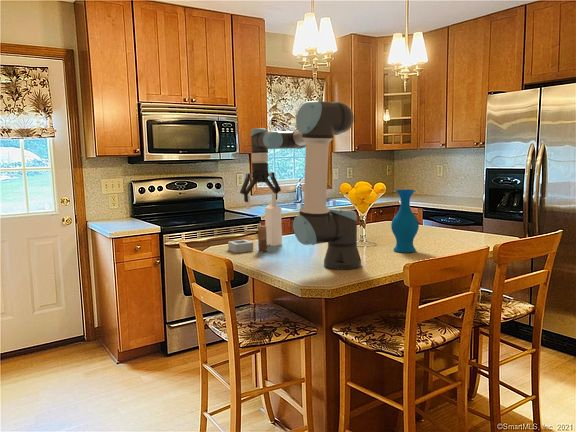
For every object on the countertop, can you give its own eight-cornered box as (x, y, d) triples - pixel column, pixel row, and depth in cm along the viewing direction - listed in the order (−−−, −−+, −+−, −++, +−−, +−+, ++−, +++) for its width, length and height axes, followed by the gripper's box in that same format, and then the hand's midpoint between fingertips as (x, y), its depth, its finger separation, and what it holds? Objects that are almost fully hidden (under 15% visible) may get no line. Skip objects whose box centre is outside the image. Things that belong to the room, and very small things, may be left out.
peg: (268, 251, 222) (267, 226, 220) (260, 252, 220) (260, 227, 218) (264, 250, 225) (263, 225, 224) (257, 251, 223) (256, 226, 222)
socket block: (253, 250, 225) (253, 242, 224) (236, 252, 220) (235, 244, 220) (245, 247, 232) (245, 239, 232) (228, 249, 228) (228, 241, 227)
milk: (272, 246, 234) (271, 202, 231) (265, 244, 239) (264, 201, 236) (282, 244, 238) (281, 201, 234) (275, 243, 242) (274, 200, 239)
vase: (423, 250, 217) (424, 190, 213) (408, 255, 208) (409, 192, 204) (401, 247, 225) (401, 188, 222) (385, 251, 217) (386, 190, 213)
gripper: (279, 161, 227) (280, 205, 230) (231, 163, 214) (233, 209, 217) (287, 161, 220) (288, 206, 223) (238, 163, 208) (240, 210, 211)
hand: (261, 208), depth 220 cm, fingers open, 13 cm apart
